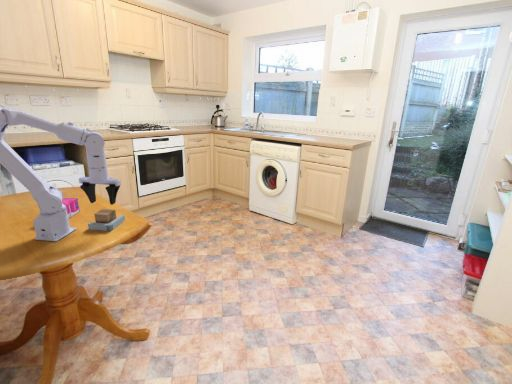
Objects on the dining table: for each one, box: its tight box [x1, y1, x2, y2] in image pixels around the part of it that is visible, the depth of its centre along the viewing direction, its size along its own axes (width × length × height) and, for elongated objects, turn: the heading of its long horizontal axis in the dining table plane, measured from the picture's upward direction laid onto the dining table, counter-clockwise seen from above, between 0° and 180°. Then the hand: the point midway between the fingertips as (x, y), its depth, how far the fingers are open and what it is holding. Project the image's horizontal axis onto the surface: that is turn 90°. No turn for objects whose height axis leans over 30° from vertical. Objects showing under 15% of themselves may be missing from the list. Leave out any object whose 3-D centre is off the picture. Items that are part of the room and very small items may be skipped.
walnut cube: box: [93, 208, 117, 224], centre depth 103 cm, size 5×5×5 cm
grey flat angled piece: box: [87, 214, 126, 232], centre depth 104 cm, size 10×8×2 cm
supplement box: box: [62, 197, 81, 220], centre depth 108 cm, size 6×6×12 cm
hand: (103, 202), depth 101 cm, fingers open, 7 cm apart
